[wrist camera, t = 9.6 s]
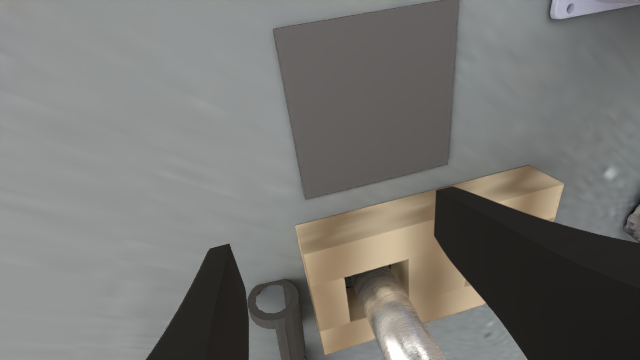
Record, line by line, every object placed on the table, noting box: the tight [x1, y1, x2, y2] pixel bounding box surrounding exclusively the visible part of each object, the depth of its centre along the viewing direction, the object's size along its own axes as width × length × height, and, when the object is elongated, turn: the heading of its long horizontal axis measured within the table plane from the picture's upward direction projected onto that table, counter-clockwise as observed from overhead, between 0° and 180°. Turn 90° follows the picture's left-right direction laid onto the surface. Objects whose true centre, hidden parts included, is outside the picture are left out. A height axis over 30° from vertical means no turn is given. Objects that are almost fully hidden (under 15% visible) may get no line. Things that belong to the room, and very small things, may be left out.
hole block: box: [295, 165, 564, 355], centre depth 25 cm, size 18×10×3 cm, turn 98°
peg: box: [348, 265, 446, 360], centre depth 21 cm, size 3×3×10 cm
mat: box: [273, 0, 459, 200], centre depth 19 cm, size 10×10×1 cm
